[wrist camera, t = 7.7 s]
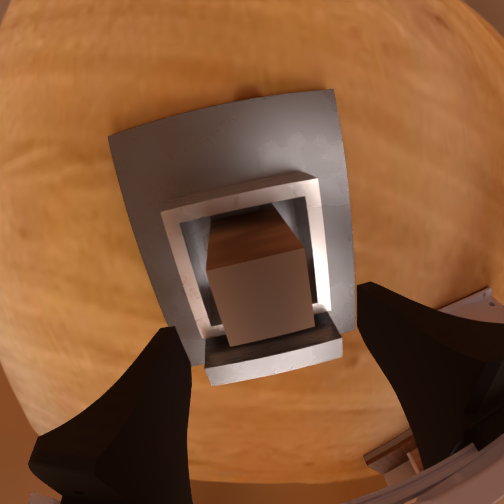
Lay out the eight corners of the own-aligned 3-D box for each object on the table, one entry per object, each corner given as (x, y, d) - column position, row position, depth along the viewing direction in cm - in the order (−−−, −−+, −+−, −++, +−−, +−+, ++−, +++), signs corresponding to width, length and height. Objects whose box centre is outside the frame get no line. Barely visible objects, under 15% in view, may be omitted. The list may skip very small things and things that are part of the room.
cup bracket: (327, 91, 17) (371, 76, 11) (349, 321, 24) (380, 369, 18) (114, 136, 16) (69, 139, 11) (187, 357, 23) (182, 414, 18)
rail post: (274, 206, 18) (304, 247, 12) (285, 264, 20) (314, 326, 13) (210, 221, 18) (205, 271, 12) (226, 278, 20) (230, 346, 13)
